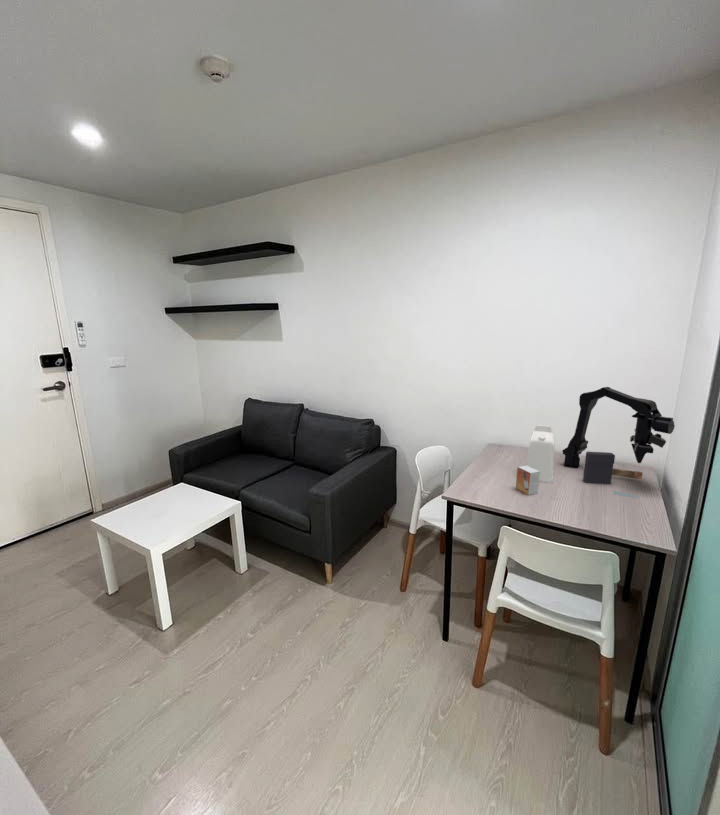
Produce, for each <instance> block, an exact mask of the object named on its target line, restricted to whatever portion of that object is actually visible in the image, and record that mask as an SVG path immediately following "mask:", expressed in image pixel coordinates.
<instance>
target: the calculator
mask: <svg viewBox="0 0 720 815" xmlns="http://www.w3.org/2000/svg"><path fill="white" fill-rule="evenodd" d="M615 460H616V454H614V453H613V452H608V451H607V452H605V451H603V452H601V451H586V452H585V460H584V468H583V469H584V470H583V477H582V482H583V483H584V484H595V485H611V484H612V478H613V477H612V476H613V475H612V470H613V469H614V464H615Z"/></svg>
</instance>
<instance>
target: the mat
mask: <svg viewBox="0 0 720 815" xmlns="http://www.w3.org/2000/svg"><path fill="white" fill-rule="evenodd" d="M612 492H613V495H615V496H616V495H617V496H623V497H628V498H635V499H640V497H639V496H638V495H635V494H630V493H626V492H622V491H617V490H612Z"/></svg>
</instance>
